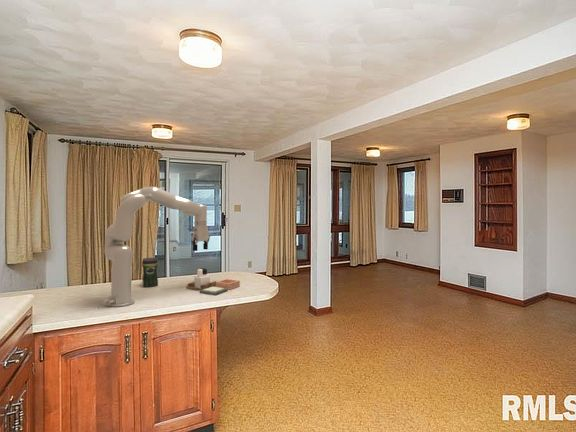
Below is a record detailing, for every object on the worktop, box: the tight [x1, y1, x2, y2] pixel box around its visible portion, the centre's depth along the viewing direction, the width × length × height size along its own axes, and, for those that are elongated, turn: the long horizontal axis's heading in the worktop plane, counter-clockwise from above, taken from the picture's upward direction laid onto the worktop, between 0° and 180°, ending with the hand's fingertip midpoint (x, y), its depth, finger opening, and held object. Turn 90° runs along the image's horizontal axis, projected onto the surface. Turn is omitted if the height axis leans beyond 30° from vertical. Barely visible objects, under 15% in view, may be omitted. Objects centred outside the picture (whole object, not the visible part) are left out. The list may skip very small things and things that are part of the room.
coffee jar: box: [141, 257, 159, 288], centre depth 220 cm, size 10×8×19 cm
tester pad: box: [203, 286, 224, 292], centre depth 205 cm, size 9×9×1 cm
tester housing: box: [199, 288, 229, 296], centre depth 205 cm, size 12×12×2 cm
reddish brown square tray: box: [215, 278, 241, 291], centre depth 218 cm, size 11×11×4 cm
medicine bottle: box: [193, 267, 211, 288], centre depth 218 cm, size 7×7×12 cm
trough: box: [185, 280, 217, 292], centre depth 218 cm, size 17×12×3 cm
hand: (200, 249), depth 217 cm, fingers open, 9 cm apart
